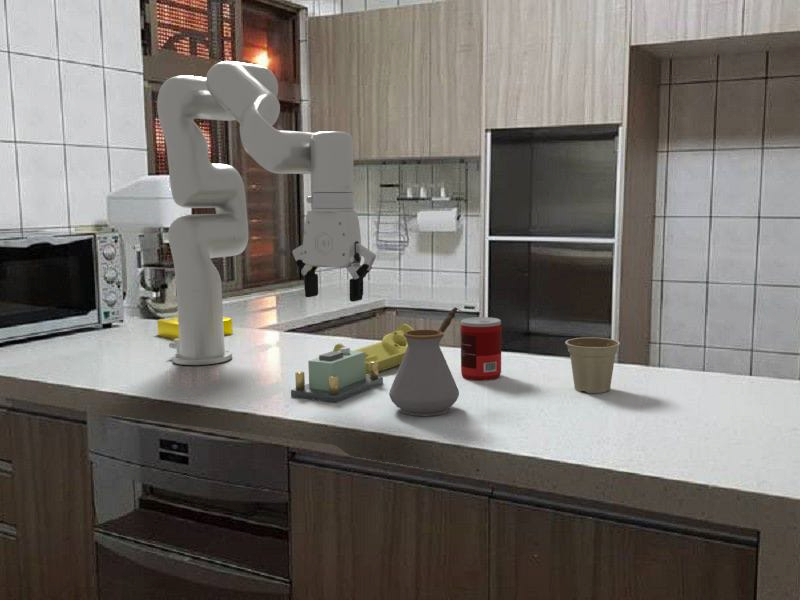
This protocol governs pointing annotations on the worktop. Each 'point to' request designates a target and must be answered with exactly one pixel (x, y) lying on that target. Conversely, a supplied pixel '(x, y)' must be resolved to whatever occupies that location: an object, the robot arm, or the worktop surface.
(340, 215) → the robot arm
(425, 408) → the coffee pot
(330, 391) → the chassis
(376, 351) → the plastic component
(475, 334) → the canned food
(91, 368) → the worktop surface
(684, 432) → the worktop surface
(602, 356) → the flower pot
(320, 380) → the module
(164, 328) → the element tile
